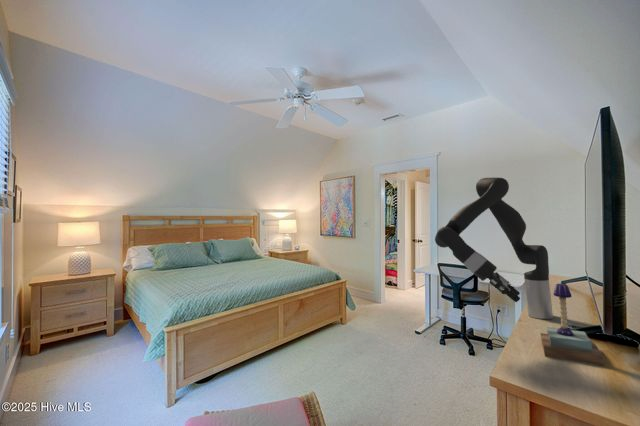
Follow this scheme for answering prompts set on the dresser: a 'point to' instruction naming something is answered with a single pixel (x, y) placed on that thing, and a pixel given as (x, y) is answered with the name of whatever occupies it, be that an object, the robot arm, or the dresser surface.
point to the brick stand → (571, 347)
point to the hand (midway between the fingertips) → (518, 297)
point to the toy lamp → (563, 308)
